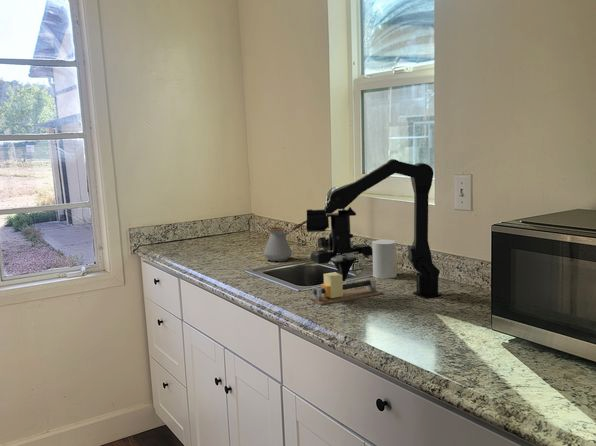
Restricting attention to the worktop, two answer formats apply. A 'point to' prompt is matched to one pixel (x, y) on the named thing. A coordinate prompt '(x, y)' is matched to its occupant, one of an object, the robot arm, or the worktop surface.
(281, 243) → the coffee pot
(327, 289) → the band
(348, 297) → the rod on a board
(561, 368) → the worktop surface
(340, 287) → the sleeve
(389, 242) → the cup
